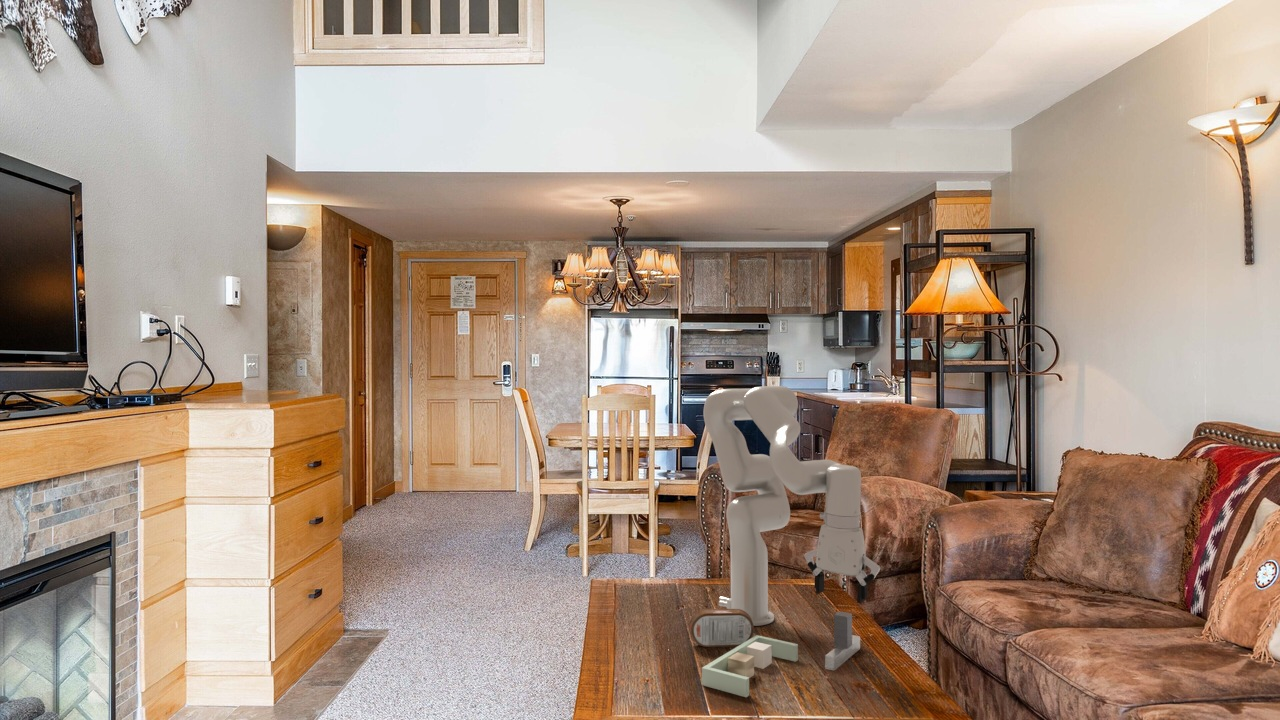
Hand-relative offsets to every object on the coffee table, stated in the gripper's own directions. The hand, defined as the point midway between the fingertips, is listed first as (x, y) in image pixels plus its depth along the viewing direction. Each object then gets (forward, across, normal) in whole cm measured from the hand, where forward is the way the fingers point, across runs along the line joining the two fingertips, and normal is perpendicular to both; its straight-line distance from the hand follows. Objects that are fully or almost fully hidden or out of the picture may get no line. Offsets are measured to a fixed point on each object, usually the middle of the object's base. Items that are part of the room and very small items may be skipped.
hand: (840, 596), depth 173 cm
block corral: (+14, -11, -20) cm, 26 cm away
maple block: (+14, -12, -23) cm, 29 cm away
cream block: (+14, -12, -14) cm, 24 cm away
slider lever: (+14, +1, -1) cm, 14 cm away
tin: (+15, -25, -10) cm, 30 cm away
